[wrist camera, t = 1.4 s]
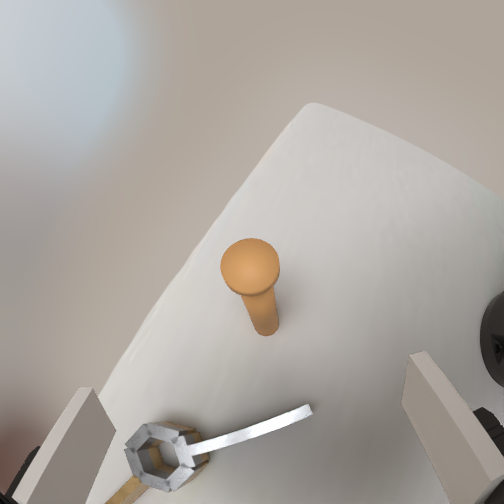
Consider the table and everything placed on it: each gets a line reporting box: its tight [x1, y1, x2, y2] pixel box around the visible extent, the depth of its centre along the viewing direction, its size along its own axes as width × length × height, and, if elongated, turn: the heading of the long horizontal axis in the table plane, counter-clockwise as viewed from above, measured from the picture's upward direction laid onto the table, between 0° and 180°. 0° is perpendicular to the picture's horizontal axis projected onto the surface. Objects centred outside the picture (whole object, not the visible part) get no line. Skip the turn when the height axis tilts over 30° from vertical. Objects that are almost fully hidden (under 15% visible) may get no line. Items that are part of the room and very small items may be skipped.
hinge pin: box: [221, 238, 280, 336], centre depth 31 cm, size 4×4×17 cm
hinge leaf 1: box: [105, 422, 209, 504], centre depth 27 cm, size 8×21×6 cm, turn 141°
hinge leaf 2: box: [124, 404, 313, 492], centre depth 29 cm, size 20×8×6 cm, turn 111°
